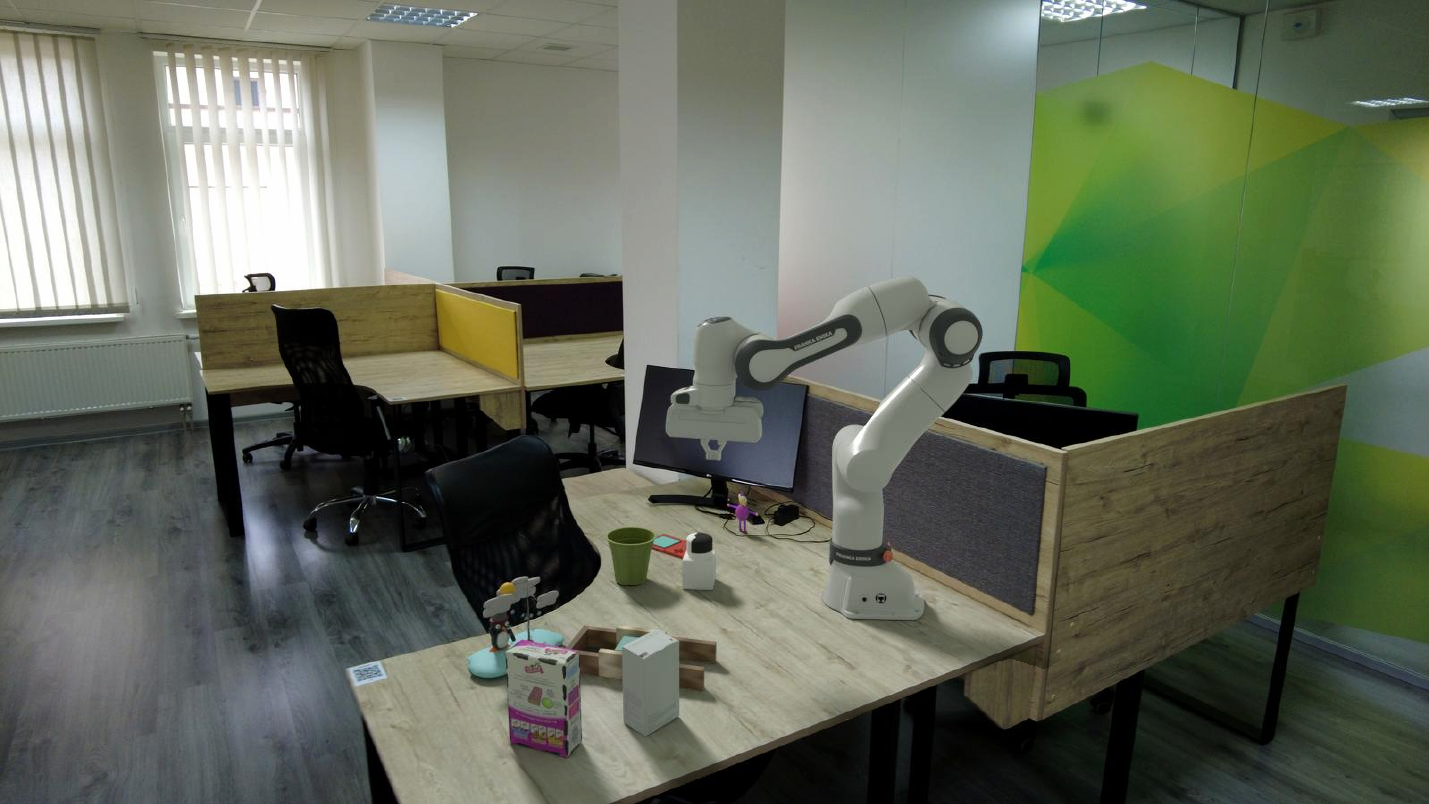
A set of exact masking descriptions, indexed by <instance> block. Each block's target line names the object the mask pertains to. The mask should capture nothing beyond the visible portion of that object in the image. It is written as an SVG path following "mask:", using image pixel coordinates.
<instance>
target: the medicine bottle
mask: <svg viewBox="0 0 1429 804" xmlns="http://www.w3.org/2000/svg"><path fill="white" fill-rule="evenodd" d="M686 541H687V550H686V552H685V555H684V558H683V559H682V562H681V563H682V568H681V571H682V573H681V574H682V576H681V577H682V578H681V579H682V587H681V588H682V589H683V590H695V591H697V590H698V591H713V590H714V585H715V583H716V579H717V575H716V574H717V567H716V566H717V551H716V550H714V549H713V537H712V535H710V534H708V533H705V532H694V533H691V534H688V536H686Z"/></svg>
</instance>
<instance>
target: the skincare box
mask: <svg viewBox="0 0 1429 804" xmlns="http://www.w3.org/2000/svg"><path fill="white" fill-rule="evenodd" d="M659 630H660V629H657V628H656V629H654V630H653V631H652V632H650V633H648V634H646V635H644V636H642V637H640V638H638V639H636V640H634V641H632V642H630V643H628V644H626V645H624V646H622V671H623V679H622V704H623V705H622V706H623V707H622V709H623V712H622V713H623V723H624V724H625V725H627V726H628V727H630V728H632V729H633V730H635V731H636V732H638V733H639V734H640V735H642V736H643V737H647V736H649V735H650V734H653V733H655V731H657V730H658V729H660V728H662V727H664V726H665V725H667V724H669V723H671V722H672V721H673V720H674V719H677V718H679V717H680V687H679V664H680V659H679V640H676V639H675V638H673V637H674V636H673V637H671V636H672V635H669V634H668V633H667V634H665V633H663V632H661V631H659Z"/></svg>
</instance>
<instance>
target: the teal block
mask: <svg viewBox="0 0 1429 804" xmlns="http://www.w3.org/2000/svg"><path fill="white" fill-rule="evenodd" d="M636 639H638V638H637V637H628V636H623V638H622V640H621V641H620V643H619V644H618V646H617V647H616V649H615V651H622V646H624V645H626V644H628V643H630V642H632V641H634V640H636Z"/></svg>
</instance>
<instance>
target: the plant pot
mask: <svg viewBox="0 0 1429 804" xmlns="http://www.w3.org/2000/svg"><path fill="white" fill-rule="evenodd" d="M656 537H657V533H656V532H655V531H653V530H652V529H650V528H646V527H641V526H624V527H617V528H614V529H611V530H609V531H608V532H606V534H605V540H606V541H608V548H609V549H610V554H611V558H612V559H611V560H612V565H613V572H614V577H615V581H616V582H617V583H618V584H619V585H622V586H629V585H631V586H638V585H641V584H644V583H645V582H646V581H647V576H648V571H649V564H650V559H651V554H652V550H653V549H652V547H653V542H654V540H655V539H656Z"/></svg>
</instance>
